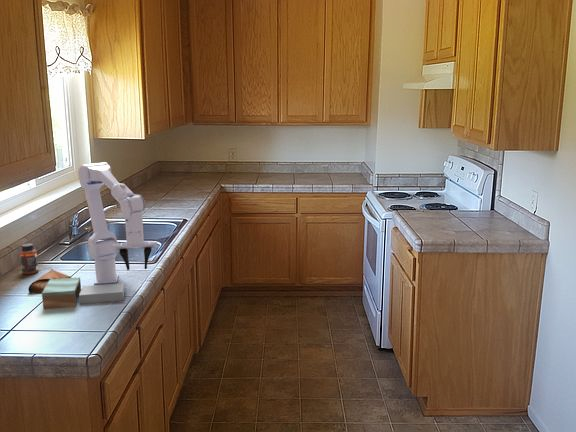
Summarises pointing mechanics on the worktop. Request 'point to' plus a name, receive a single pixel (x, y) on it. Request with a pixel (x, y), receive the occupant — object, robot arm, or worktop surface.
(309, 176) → the worktop surface
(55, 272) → the sunglasses case
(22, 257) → the supplement bottle
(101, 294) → the flat grey cuboid
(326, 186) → the worktop surface
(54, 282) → the overhang bridge
